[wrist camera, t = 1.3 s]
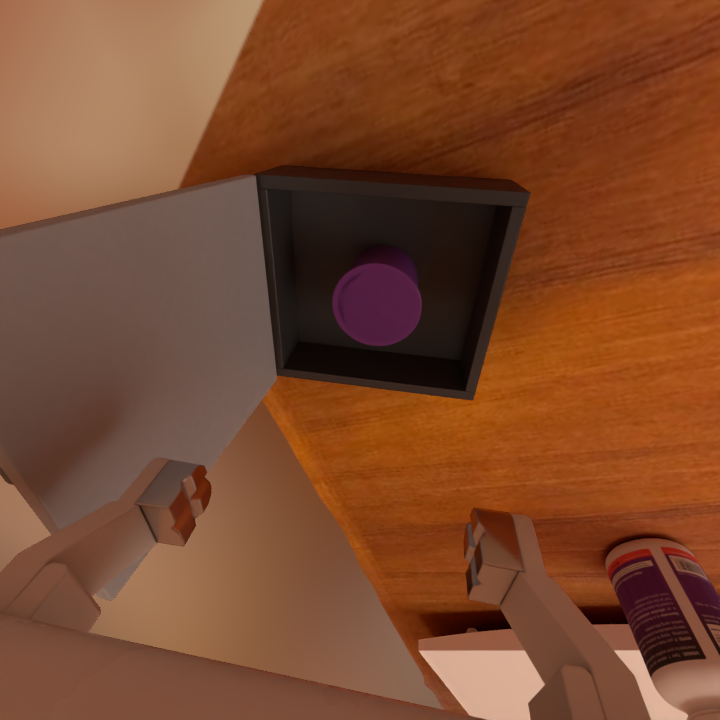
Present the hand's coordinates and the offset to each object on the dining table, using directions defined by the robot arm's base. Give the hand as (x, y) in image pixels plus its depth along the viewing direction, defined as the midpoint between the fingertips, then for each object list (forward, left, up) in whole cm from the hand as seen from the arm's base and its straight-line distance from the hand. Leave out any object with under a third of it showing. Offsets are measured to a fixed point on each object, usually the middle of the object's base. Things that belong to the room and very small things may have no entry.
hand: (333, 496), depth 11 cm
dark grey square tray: (0, 0, -19) cm, 19 cm away
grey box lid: (0, -8, -6) cm, 10 cm away
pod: (0, 0, -18) cm, 18 cm away
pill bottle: (+28, +30, -19) cm, 45 cm away
